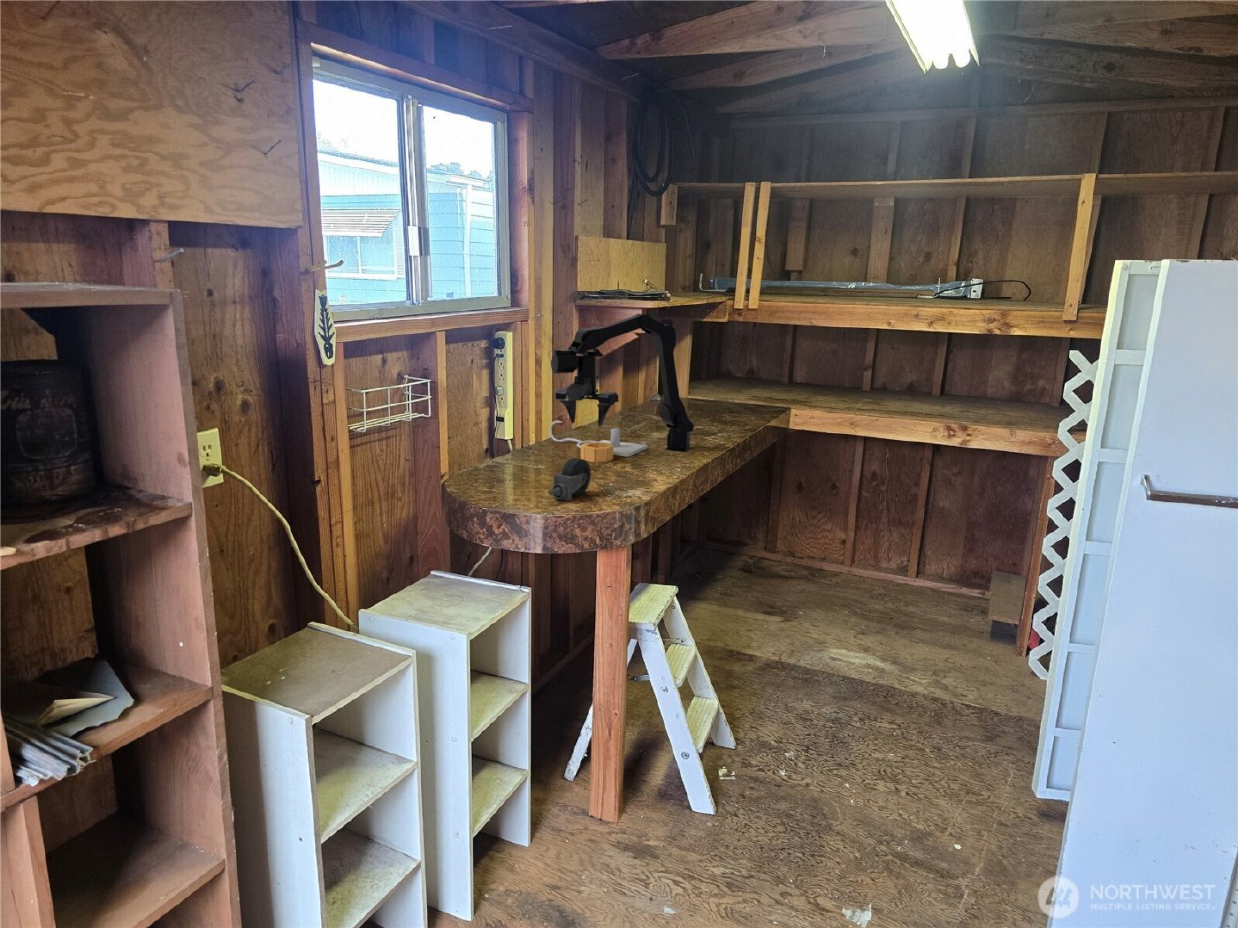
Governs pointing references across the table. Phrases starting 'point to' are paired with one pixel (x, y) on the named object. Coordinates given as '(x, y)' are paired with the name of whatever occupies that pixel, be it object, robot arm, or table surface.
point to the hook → (567, 438)
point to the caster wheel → (571, 479)
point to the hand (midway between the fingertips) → (586, 424)
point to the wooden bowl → (597, 452)
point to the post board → (623, 445)
